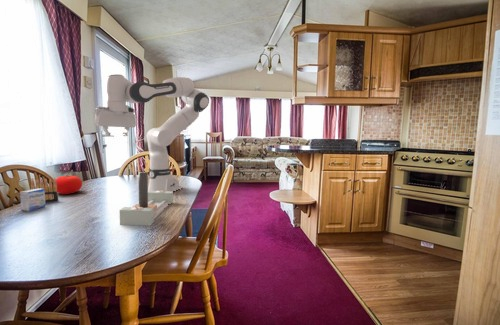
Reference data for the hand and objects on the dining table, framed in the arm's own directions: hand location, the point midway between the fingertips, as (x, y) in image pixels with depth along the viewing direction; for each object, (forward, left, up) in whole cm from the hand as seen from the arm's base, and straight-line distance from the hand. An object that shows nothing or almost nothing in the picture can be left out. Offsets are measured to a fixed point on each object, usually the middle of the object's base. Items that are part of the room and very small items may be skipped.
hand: (116, 136), depth 132 cm
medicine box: (+28, -21, -34) cm, 49 cm away
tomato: (+4, -39, -34) cm, 52 cm away
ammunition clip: (+20, -29, -34) cm, 49 cm away
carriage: (+9, +30, -31) cm, 44 cm away
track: (+2, +26, -34) cm, 43 cm away
